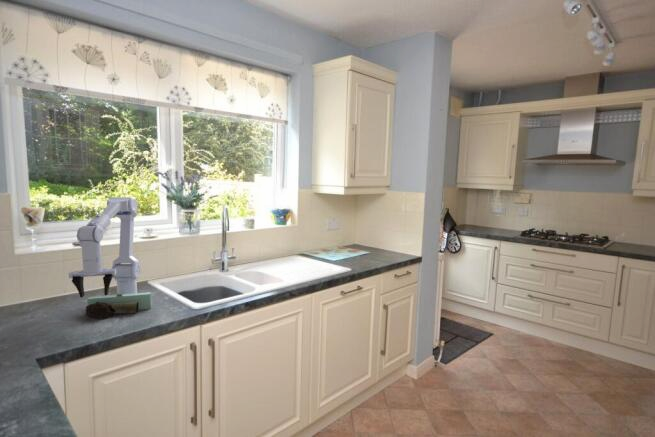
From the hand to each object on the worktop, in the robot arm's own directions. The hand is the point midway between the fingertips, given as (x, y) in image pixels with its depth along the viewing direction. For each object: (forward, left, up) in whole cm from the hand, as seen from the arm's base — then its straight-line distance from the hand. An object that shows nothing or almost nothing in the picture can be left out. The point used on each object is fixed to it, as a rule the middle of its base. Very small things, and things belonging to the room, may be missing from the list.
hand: (94, 295), depth 136 cm
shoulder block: (-10, +6, -10) cm, 15 cm away
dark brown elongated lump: (-5, +4, -10) cm, 12 cm away
